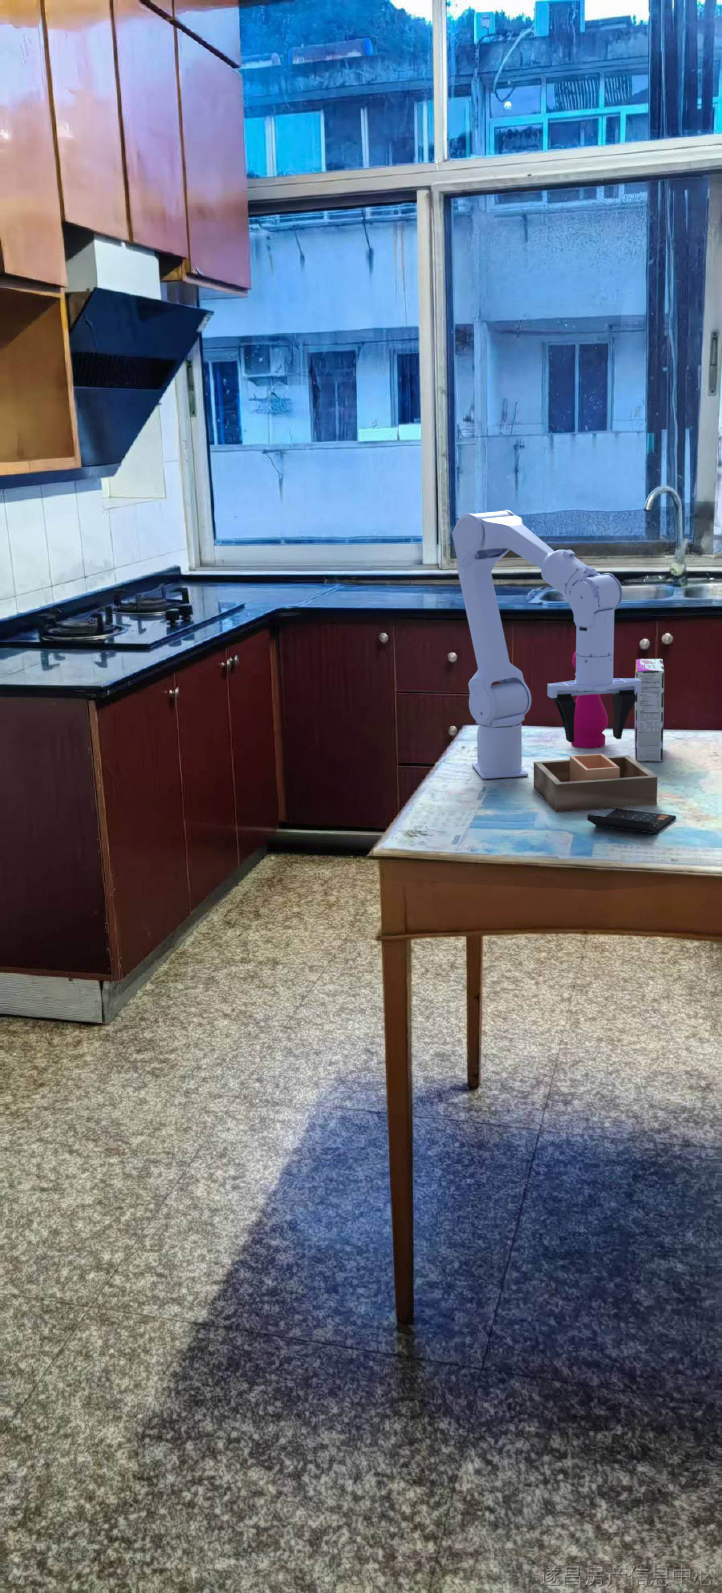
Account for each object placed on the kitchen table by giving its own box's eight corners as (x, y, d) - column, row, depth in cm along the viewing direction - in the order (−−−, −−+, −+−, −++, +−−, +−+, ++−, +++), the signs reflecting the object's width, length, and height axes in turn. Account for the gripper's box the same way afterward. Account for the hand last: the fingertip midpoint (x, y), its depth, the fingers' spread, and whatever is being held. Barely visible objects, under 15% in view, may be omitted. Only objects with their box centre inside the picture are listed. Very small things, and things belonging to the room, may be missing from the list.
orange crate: (569, 785, 205) (569, 755, 204) (601, 783, 206) (602, 753, 204) (585, 800, 197) (585, 769, 195) (619, 798, 197) (619, 767, 196)
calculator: (675, 821, 189) (676, 801, 188) (648, 843, 179) (648, 823, 178) (616, 813, 194) (616, 794, 193) (586, 834, 184) (586, 814, 183)
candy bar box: (633, 746, 231) (635, 658, 226) (661, 747, 230) (663, 658, 225) (633, 762, 220) (635, 670, 216) (663, 762, 219) (665, 670, 215)
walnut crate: (533, 788, 207) (533, 761, 206) (627, 781, 209) (628, 755, 208) (556, 812, 194) (556, 784, 193) (656, 804, 196) (657, 777, 194)
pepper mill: (568, 749, 231) (568, 641, 226) (568, 740, 238) (569, 634, 232) (608, 749, 230) (609, 640, 224) (607, 739, 237) (609, 634, 231)
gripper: (555, 661, 191) (555, 748, 194) (648, 655, 192) (646, 742, 196) (543, 653, 197) (543, 737, 201) (633, 648, 199) (631, 731, 203)
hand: (593, 739), depth 199 cm, fingers open, 7 cm apart
